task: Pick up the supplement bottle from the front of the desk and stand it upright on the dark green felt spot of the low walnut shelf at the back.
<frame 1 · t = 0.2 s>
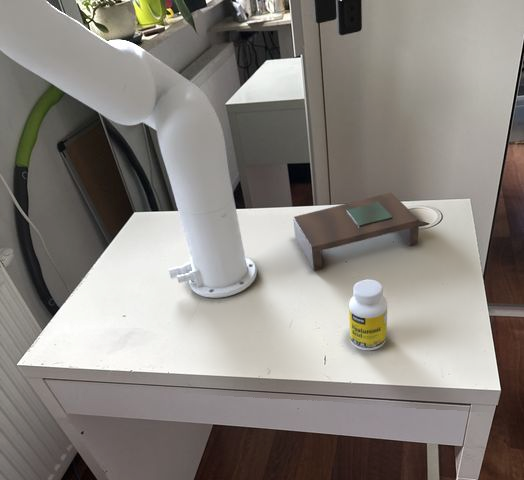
hand: (337, 26, 74), 36 cm above the table, tool pointing down, fingers open, 9 cm apart
supplement bottle: (368, 340, 79), on the table
shelf: (354, 241, 100), on the table
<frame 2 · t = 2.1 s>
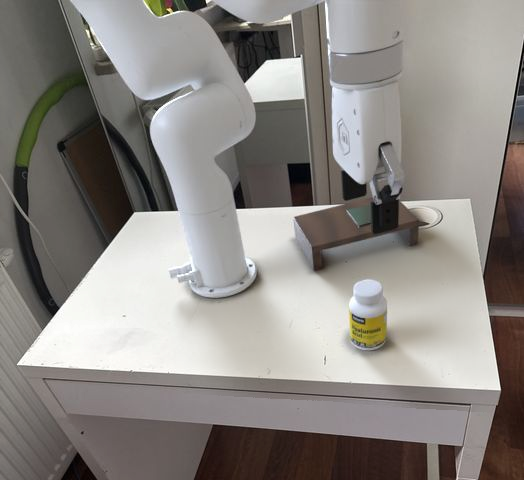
hand: (368, 213, 65), 21 cm above the table, tool pointing down, fingers open, 9 cm apart
nothing on the table moved.
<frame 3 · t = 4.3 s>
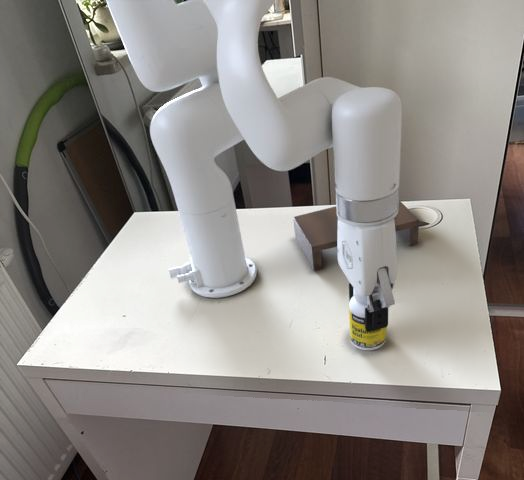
hand: (368, 314, 76), 5 cm above the table, tool pointing down, fingers closed on supplement bottle, 5 cm apart
supplement bottle: (368, 340, 79), on the table, touching gripper
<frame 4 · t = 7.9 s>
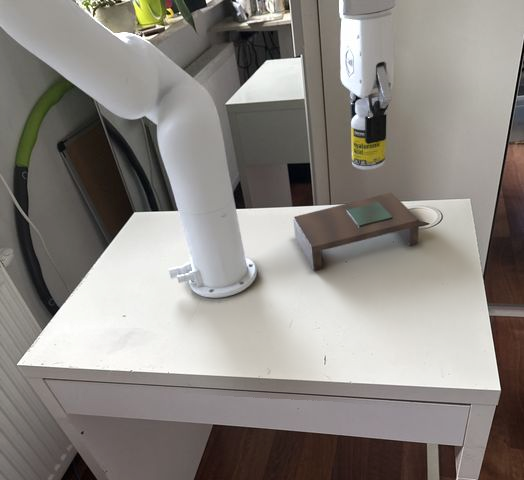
hand: (368, 133, 83), 21 cm above the table, tool pointing down, fingers closed on supplement bottle, 5 cm apart
supplement bottle: (368, 164, 86), point 16 cm above the table, touching gripper
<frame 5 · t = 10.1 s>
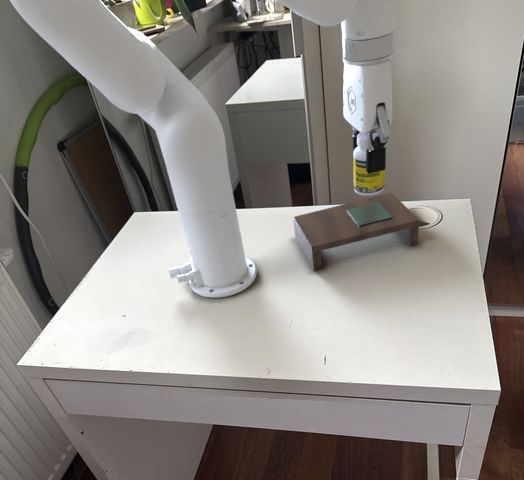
hand: (368, 163, 90), 15 cm above the table, tool pointing down, fingers closed on supplement bottle, 5 cm apart
supplement bottle: (369, 190, 93), point 10 cm above the table, touching gripper
when the fingers open (10 cm above the table, at t = 11.8 s): supplement bottle stays where it is, resting on shelf.
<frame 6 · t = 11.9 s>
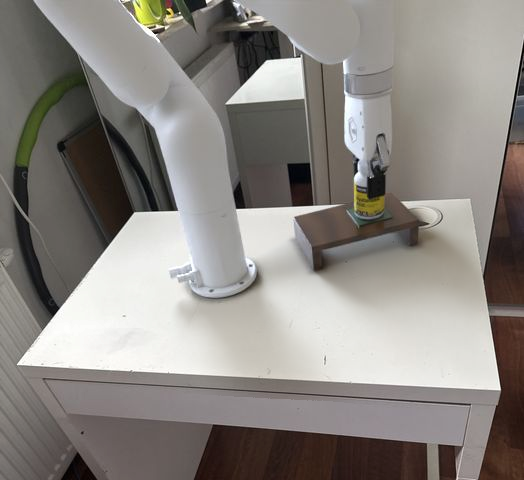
hand: (369, 188, 93), 10 cm above the table, tool pointing down, fingers open, 5 cm apart
supplement bottle: (369, 214, 96), point 5 cm above the table, touching shelf
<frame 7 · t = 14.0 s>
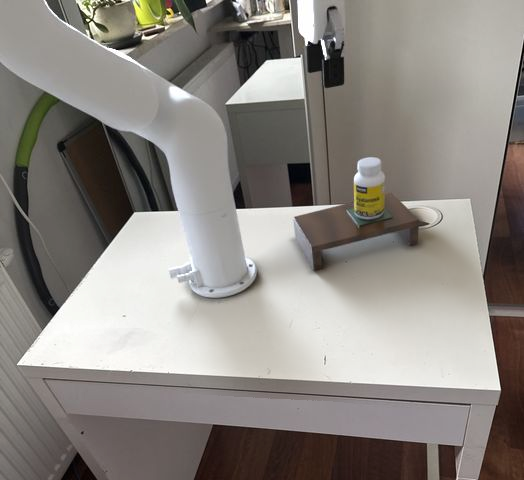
hand: (324, 78, 84), 28 cm above the table, tool pointing down, fingers open, 9 cm apart
nothing on the table moved.
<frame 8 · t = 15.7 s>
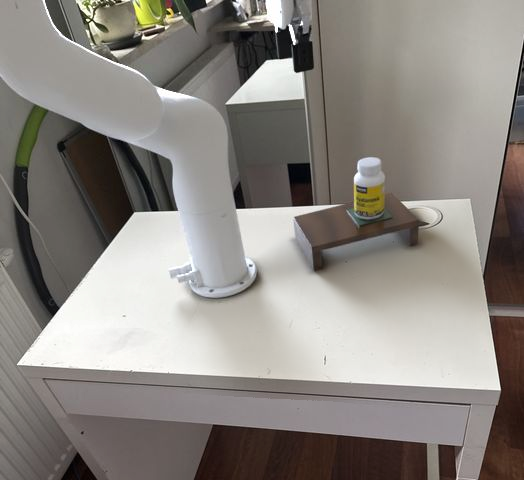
hand: (295, 63, 86), 30 cm above the table, tool pointing down, fingers open, 9 cm apart
nothing on the table moved.
at the end: supplement bottle inside the target area on the shelf (0.1 cm from its centre), point 5.0 cm above the shelf's base; supplement bottle tilted 0° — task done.
